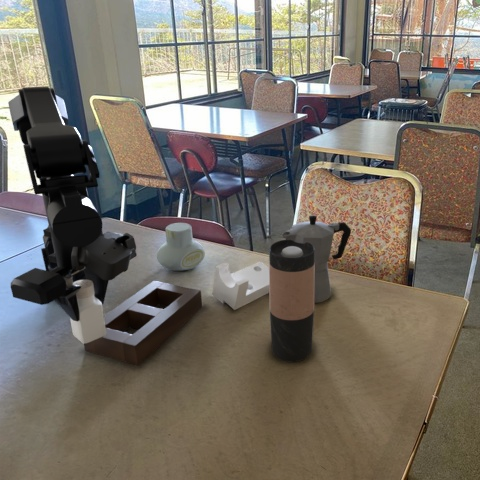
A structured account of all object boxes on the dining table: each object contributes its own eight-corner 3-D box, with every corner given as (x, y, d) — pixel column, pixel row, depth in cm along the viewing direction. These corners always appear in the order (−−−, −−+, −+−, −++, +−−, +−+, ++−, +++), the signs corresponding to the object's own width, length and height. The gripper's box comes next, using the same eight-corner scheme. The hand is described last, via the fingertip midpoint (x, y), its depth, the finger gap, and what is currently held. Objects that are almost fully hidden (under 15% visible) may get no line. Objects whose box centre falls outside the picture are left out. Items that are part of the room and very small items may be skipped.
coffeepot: (289, 309, 98) (290, 227, 91) (275, 288, 106) (274, 211, 99) (356, 296, 104) (362, 218, 97) (338, 276, 112) (342, 203, 105)
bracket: (233, 313, 98) (238, 285, 94) (212, 294, 101) (216, 266, 97) (279, 290, 107) (285, 263, 103) (257, 273, 110) (263, 246, 106)
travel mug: (280, 368, 81) (279, 261, 73) (264, 343, 87) (261, 243, 79) (320, 355, 84) (323, 253, 76) (301, 333, 91) (303, 235, 83)
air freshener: (188, 253, 121) (185, 216, 117) (211, 262, 117) (208, 224, 113) (152, 268, 113) (147, 229, 109) (174, 279, 109) (170, 238, 105)
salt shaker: (95, 326, 80) (88, 275, 77) (108, 335, 78) (100, 284, 74) (71, 335, 77) (62, 284, 74) (83, 346, 75) (74, 293, 71)
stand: (84, 350, 84) (81, 331, 82) (156, 297, 101) (154, 280, 100) (138, 365, 81) (135, 345, 79) (202, 307, 98) (200, 290, 96)
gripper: (62, 256, 59) (83, 359, 65) (157, 208, 75) (167, 294, 82) (-5, 241, 62) (22, 340, 69) (100, 198, 78) (114, 282, 85)
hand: (88, 312), depth 76 cm, fingers closed on salt shaker, 5 cm apart
